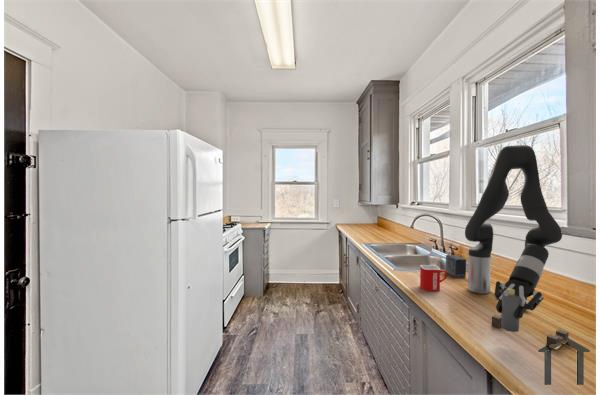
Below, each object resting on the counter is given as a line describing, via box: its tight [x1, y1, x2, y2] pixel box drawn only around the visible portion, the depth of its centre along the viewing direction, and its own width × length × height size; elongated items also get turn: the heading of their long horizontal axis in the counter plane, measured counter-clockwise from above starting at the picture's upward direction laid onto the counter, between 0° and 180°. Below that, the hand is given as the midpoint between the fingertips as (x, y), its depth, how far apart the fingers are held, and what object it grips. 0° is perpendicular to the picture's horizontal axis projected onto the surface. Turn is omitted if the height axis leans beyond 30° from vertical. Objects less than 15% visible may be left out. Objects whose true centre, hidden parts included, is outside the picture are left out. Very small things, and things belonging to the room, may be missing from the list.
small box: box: [445, 254, 467, 279], centre depth 175 cm, size 11×6×10 cm, turn 4°
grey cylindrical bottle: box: [500, 288, 520, 333], centre depth 101 cm, size 5×5×13 cm
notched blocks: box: [491, 312, 570, 346], centre depth 108 cm, size 9×20×4 cm, turn 30°
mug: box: [419, 264, 448, 292], centre depth 153 cm, size 12×8×11 cm
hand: (507, 314), depth 100 cm, fingers closed on grey cylindrical bottle, 4 cm apart
